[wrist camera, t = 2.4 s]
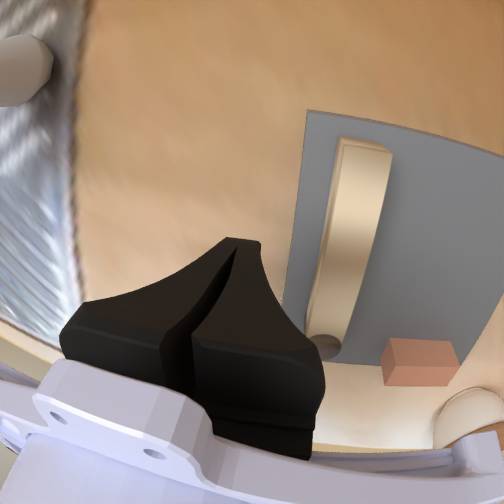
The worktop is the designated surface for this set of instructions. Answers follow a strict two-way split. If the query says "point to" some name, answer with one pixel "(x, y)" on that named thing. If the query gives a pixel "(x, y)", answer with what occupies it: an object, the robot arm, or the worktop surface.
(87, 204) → the worktop surface
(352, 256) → the stool leg
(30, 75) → the salt shaker
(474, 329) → the stool seat
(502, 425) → the lidded jar
